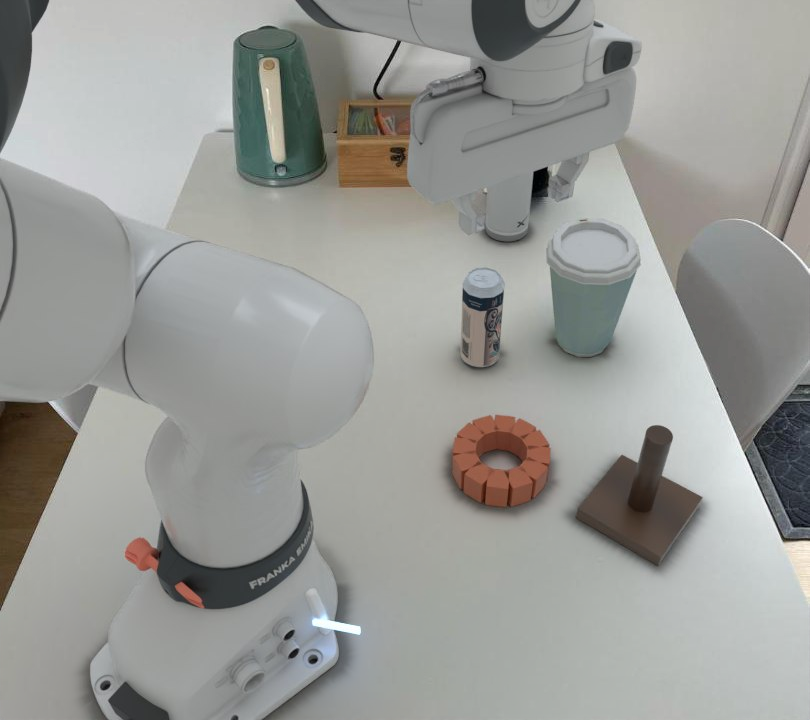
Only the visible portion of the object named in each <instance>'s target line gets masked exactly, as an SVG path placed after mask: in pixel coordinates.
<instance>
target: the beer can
mask: <svg viewBox="0 0 810 720" xmlns="http://www.w3.org/2000/svg"><path fill="white" fill-rule="evenodd" d="M505 287H506V283H505V280H504V279H503V277H502V275H501V274H500V273H499V271H498V270H497V269H493V268H490V267H485V266H484V267H475V268H474V269H472V270H470V271H468V273H467V275H466V276H465V277H464V279H463V281H462V296H461V324H460V326H461V327H460V331H461V332H460V350H459V351H460V352H459V353H460V354H459V355H460V358H461V360H462V361H463V362H464V363H465V364H467V365H469V366H471V367H475V368H485V367H490V366H493V365H494V364H495V363H496V362H498V360H499V359H500V350H501V349H500V348H501V346H500V345H501V335H502V322H503V310H504V309H503V308H504V294H505Z"/></svg>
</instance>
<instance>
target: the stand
mask: <svg viewBox="0 0 810 720" xmlns="http://www.w3.org/2000/svg"><path fill="white" fill-rule="evenodd" d="M673 439H674V434H673V433H672V431H671V430H670V429H669V428H668V427H666V426H664V425H659V424H655V425H651V426H649V427H647V428H646V430H645V434H644V438H643V441H642V445H641V449H640V453H639V457H638V461H635V460H633V459H631V458H630V457H628V456H625V455H624V454H621V455H620V456H619V457H618V458H617V460H616V461H615V462H614V463H613V464H612V466H610V468H609V469H608V470H607V472H606V473H605V474H604V476H603V477H602V478H601V479H600V480H599V482H598V483H597V484H596V485H595V487H594V488H593V489H592V490H591V491H590V492H589V494H588V495H587V496H586V497H585V498H584V500H583V501H582V502H581V504H579V506H578V507H577V509H576V513H575V514H576V515H575V519H578V520H579V521H581V522H583V523H584V524H586V525H588V526H590V528H592V529H594V530H595V531H598V532H600V533H601V534H603V535H605V536H607V537H608V538H610V539H611V540H613V541H614V542H617V543H618V544H620V545H621V546H623V547H625V548H627V549H628V550H630V551H632V552H634V553H635V554H637V555H639V556H640V557H642V558H644V559H645V560H647V561H648V562H650V563H652V564H654V565H655V566H657V567H659V566H660V564H661V563H662V562H663V560H664V559H665V557H666V556H667V554H668V553H669V551H671V549H672V547H673V545H674V544H675V543H676V542H677V540H678V539H679V537H680V535H681V534H682V533H683V531H684V529H686V527H687V525H688V524H689V522H690V521H691V519H692V518H693V516H694V515H695V514H696V512H697V510H698V509H699V508H700V506H701V504H702V500H703V496H701V495H700V494H697V493H696V492H694V491H691V490H690V489H688V488H686V487H684V486H682V485H681V484H678V483H677V482H675V481H673V480H671V479H669V478H668V477H666V476H664V475H663V473H664V470H665V467H666V463H667V460H668V457H669V453H670V450H671V446H672V443H673Z"/></svg>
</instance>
